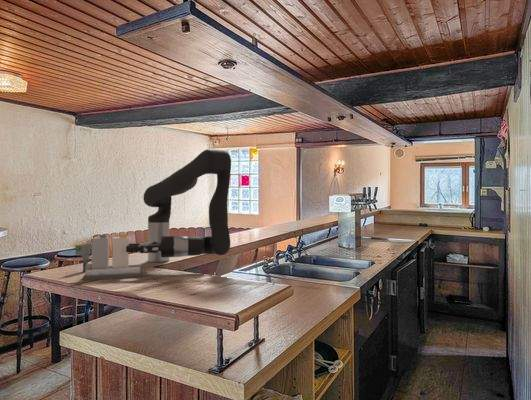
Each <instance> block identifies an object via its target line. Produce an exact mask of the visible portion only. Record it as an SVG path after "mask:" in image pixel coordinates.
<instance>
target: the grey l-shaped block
mask: <svg viewBox="0 0 531 400" xmlns="http://www.w3.org/2000/svg"><path fill="white" fill-rule="evenodd" d="M91 243H92V254H91V263H88V264H87V265H86V271H85V273H84V275H83V276H82V277H83V278H82V280H83V281H93V280H94V281H97V280H112V279H111V278H118V279H131V278H130V277H138V278H142V277H143V276H142V275H143V271H142V270H143V269H142V268H141V263H140V264H129V268H112V265H110V237H109V236H107V234H99V237H96V236H95V237H92V238H91ZM126 277H128V278H126Z"/></svg>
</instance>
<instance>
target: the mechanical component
mask: <svg viewBox="0 0 531 400" xmlns="http://www.w3.org/2000/svg"><path fill="white" fill-rule="evenodd" d="M74 250H75V255H76V256H81V260H82V272H86V265H87V264H89V262H88V261H89V259H90V255H92V242H91V243H81V244H77V245H75V247H74Z"/></svg>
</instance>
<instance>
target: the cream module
mask: <svg viewBox="0 0 531 400" xmlns="http://www.w3.org/2000/svg"><path fill="white" fill-rule="evenodd" d="M129 241H130V237H129V236H128V234H126V233H125V234H124V233H122V234H119V236H114V237H112V265H111V266H112V268H129V265H130V264H129V263H130V262H129V256H130V255H129V254H130V252H126V247H127V246H129V244H130V242H129Z"/></svg>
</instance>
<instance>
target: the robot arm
mask: <svg viewBox="0 0 531 400" xmlns="http://www.w3.org/2000/svg"><path fill="white" fill-rule="evenodd" d="M231 170H232V159H231V155H230V153H229V152H228V151H226V150H221V149H215V148H214V149H213V148H207V149H204V150H203V151H202V152H200V153H199V154H197V156H196V157H195V158H193V159H192V160H191V161H190V162H189V163H186V164H185V165H184V166H182V167H181V168H179V169H178V170H176V171H175V172H173V173H172V174H170V175H169V176H167V177H166V178H164V179H163V180H161V181H160V182H157V183H155V184H153V185H150V186H149V187H147V188H146V190H145V191H144V193H143V197H142V198H143V202H144V204H145V205H146V206H148V207H150V208H157V211H156V212H155V213H153V214H151V215H149V216H148V217H147V241H142V242H137V243H136V242H135V243H129V246H127V247H126V252H129V253H139V254H147V262H151V263H157V262H158V263H160V262H161V263H163V262H168V261H170V258H181V257H182V258H183V257H189V256H190V257H191V256H192V257H193V256H194V257H195V256H201V255H218V256H225V255H226V254H227V253H228V252H230V248H231V237H230V230H229V216H228V215H229V214H228V213H229V210H228V201H229V200H228V197H229V190H230V188H229V187H230V181H231V180H230V179H231V172H232V171H231ZM208 174H211V175H216V180H217V181H216V186H215V190H214V193H213V195H212V197H211V200H210V202H209V205H208V225H209V228H210V233H211V235H209V236H208V235H207V236H206V235H205V236H194V235H193V236H184V235H173V236H171V235H170V218H171V215H172V213H171V212H172V200H173V199H172V196H173V197H175V196H179V195H181V194H184V193H186V192H188V191H190V190H192V189H193V188H194V187H196V185H197V183H198V181H199V180H198V178H200V177H202V176H204V175H208Z"/></svg>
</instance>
